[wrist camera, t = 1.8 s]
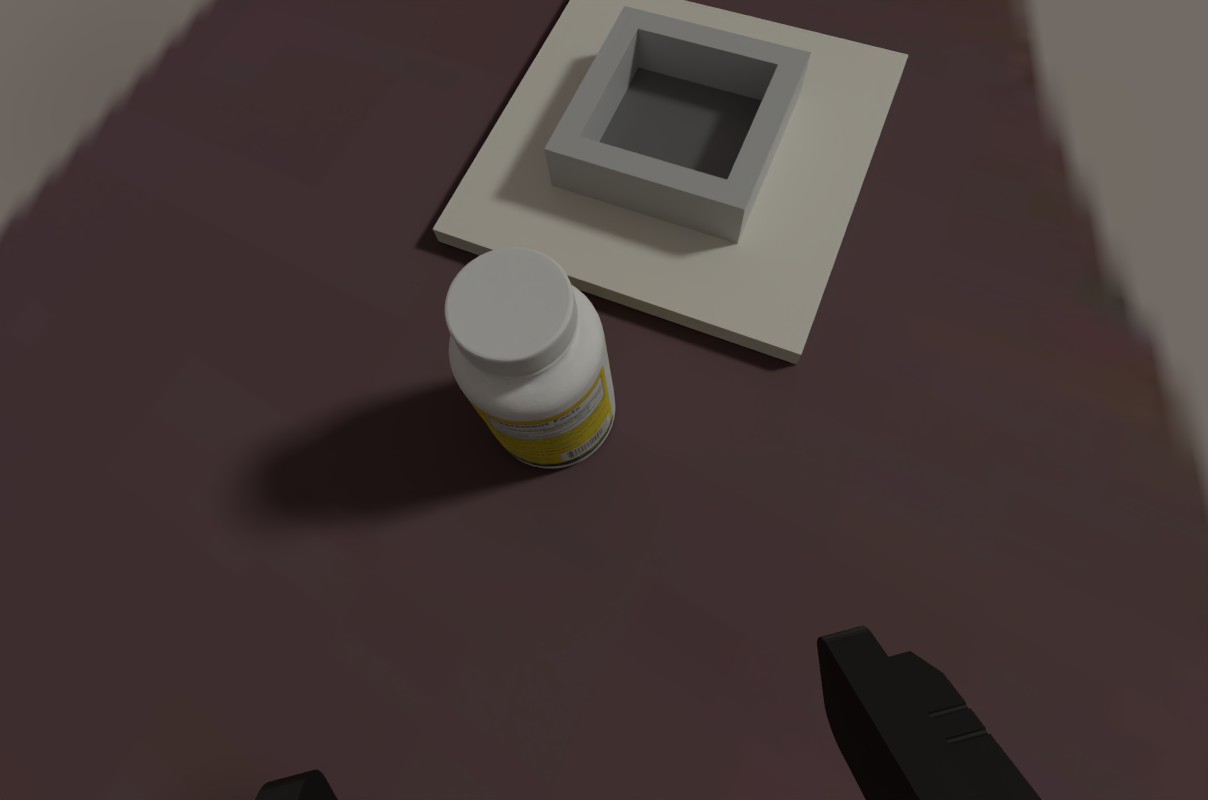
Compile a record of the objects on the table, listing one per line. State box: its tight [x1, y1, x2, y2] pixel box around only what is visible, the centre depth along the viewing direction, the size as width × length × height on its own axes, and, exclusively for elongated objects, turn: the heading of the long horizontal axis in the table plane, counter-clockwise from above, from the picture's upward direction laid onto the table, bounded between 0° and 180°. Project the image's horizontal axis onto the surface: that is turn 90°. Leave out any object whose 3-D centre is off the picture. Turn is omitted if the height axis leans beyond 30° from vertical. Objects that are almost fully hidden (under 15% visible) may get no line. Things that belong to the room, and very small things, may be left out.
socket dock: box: [433, 0, 908, 364], centre depth 33 cm, size 18×18×4 cm
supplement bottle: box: [445, 247, 615, 468], centre depth 25 cm, size 5×5×10 cm
